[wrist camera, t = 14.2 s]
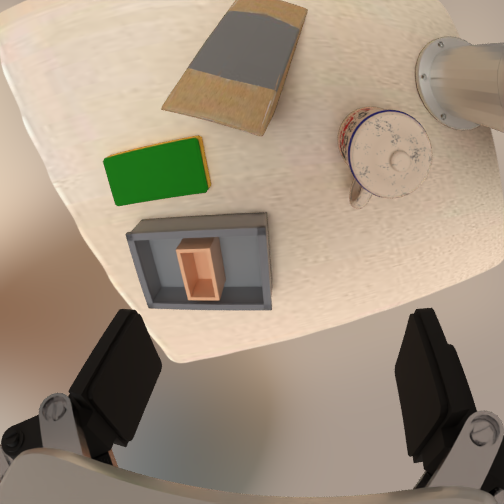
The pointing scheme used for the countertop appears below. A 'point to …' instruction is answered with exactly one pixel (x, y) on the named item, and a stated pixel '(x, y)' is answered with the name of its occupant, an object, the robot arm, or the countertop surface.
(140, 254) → the big crate
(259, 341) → the countertop surface
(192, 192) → the dish sponge
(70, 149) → the countertop surface
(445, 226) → the countertop surface
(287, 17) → the sandwich container
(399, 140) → the teacup with lid
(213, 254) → the box
